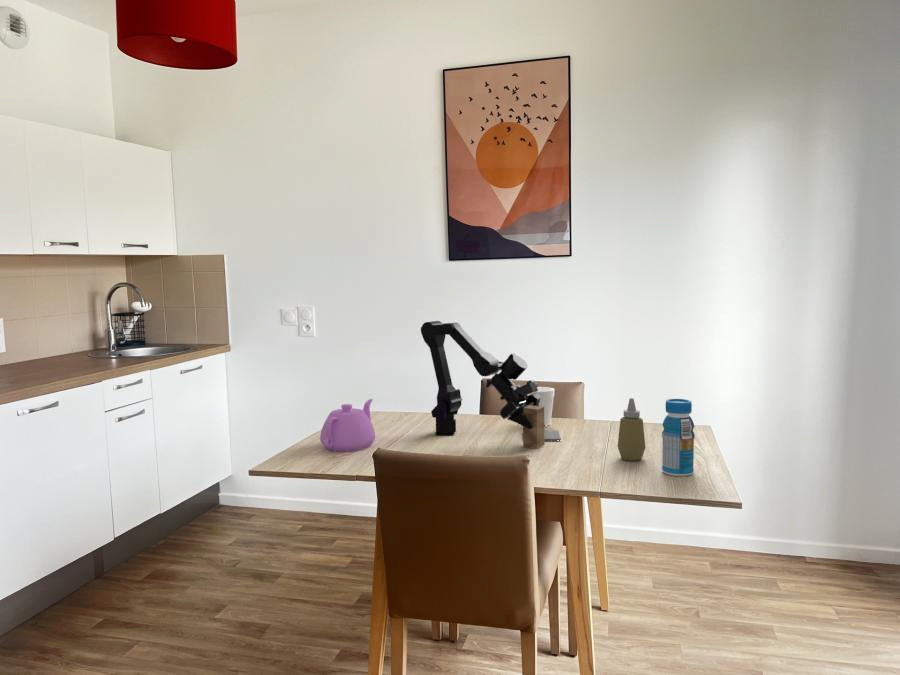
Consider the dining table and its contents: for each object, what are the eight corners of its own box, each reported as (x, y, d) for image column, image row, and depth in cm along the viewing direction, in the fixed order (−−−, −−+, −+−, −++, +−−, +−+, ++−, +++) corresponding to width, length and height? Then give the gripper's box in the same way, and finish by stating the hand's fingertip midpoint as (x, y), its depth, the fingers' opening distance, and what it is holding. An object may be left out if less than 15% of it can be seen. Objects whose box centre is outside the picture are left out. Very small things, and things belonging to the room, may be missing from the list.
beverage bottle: (659, 475, 187) (660, 402, 185) (663, 467, 194) (664, 397, 192) (692, 478, 183) (693, 404, 181) (695, 470, 191) (696, 398, 189)
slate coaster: (524, 441, 227) (524, 438, 227) (523, 432, 239) (523, 430, 239) (560, 441, 226) (560, 438, 226) (558, 432, 238) (558, 430, 238)
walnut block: (523, 446, 220) (522, 408, 219) (530, 443, 224) (530, 405, 223) (537, 448, 217) (537, 409, 216) (544, 445, 221) (544, 406, 220)
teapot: (348, 457, 211) (347, 413, 210) (304, 451, 220) (302, 408, 219) (393, 439, 233) (392, 399, 232) (351, 434, 242) (350, 395, 240)
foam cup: (554, 421, 255) (553, 386, 254) (555, 427, 246) (555, 391, 245) (528, 421, 256) (527, 387, 255) (528, 427, 247) (528, 391, 246)
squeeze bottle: (614, 455, 208) (614, 396, 206) (641, 455, 207) (642, 395, 206) (620, 462, 200) (620, 401, 198) (648, 462, 199) (649, 401, 198)
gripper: (507, 376, 213) (540, 415, 208) (535, 369, 228) (566, 404, 223) (486, 399, 218) (517, 438, 213) (514, 390, 233) (544, 426, 228)
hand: (537, 425), depth 219 cm, fingers open, 8 cm apart
